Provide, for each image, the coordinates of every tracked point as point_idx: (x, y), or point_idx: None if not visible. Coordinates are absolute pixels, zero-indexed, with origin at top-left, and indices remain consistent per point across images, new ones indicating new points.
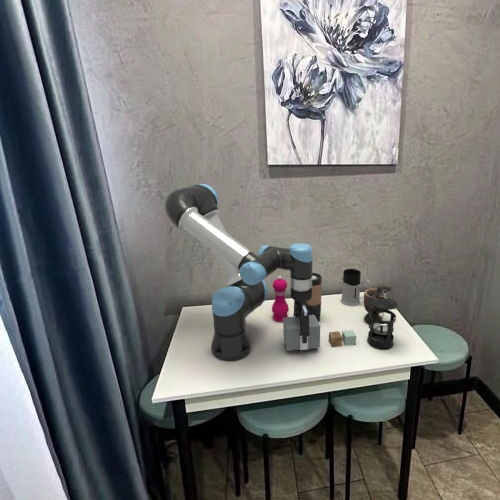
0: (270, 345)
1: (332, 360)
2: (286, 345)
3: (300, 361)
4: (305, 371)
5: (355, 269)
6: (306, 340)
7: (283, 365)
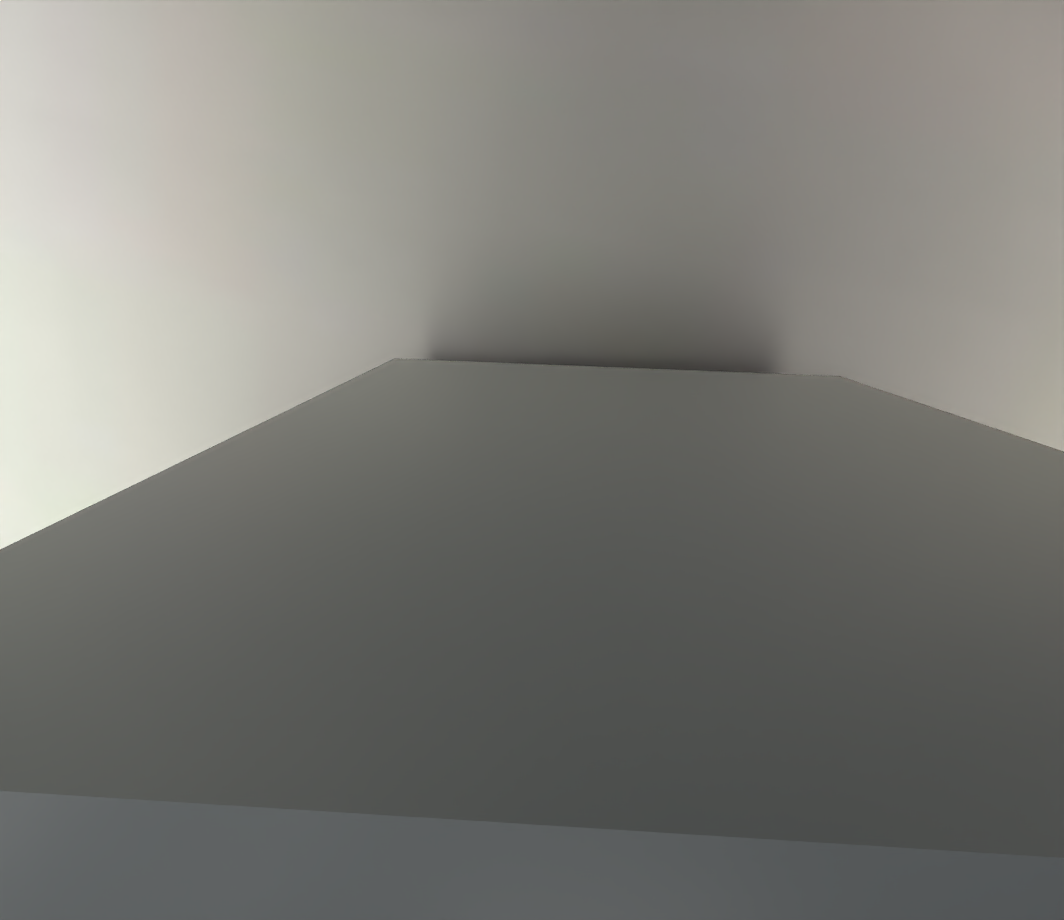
0: (788, 75)
1: None
2: (478, 370)
3: None
4: (44, 510)
5: None
6: None
7: (162, 217)
